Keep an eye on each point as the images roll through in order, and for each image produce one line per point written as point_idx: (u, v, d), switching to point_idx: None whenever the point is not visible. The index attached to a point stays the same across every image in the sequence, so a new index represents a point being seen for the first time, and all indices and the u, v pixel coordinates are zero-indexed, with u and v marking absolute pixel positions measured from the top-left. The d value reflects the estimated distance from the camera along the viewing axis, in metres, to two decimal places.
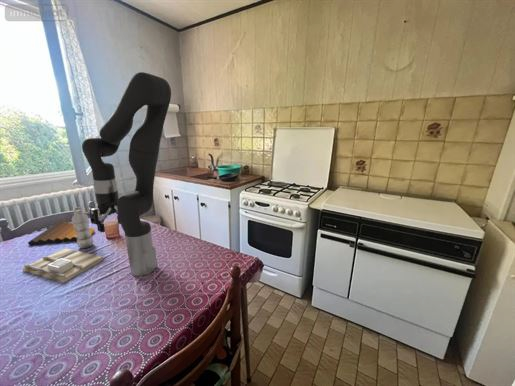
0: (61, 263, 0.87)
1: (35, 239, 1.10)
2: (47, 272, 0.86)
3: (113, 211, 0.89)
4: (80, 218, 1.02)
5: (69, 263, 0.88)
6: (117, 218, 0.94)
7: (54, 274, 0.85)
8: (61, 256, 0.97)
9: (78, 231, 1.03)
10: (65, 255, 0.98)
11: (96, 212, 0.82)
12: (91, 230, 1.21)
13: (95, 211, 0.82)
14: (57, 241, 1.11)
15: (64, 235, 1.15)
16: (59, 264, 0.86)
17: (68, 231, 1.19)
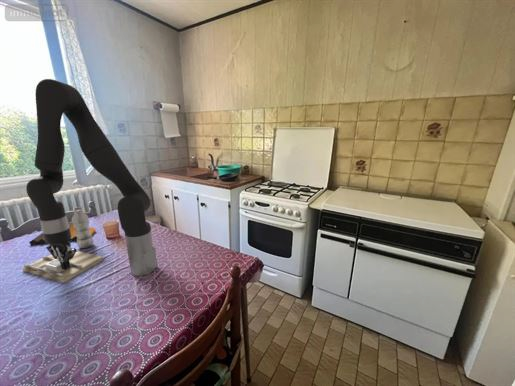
0: (59, 262, 0.87)
1: (36, 239, 1.10)
2: (47, 272, 0.86)
3: None
4: (80, 218, 1.02)
5: None
6: (62, 264, 0.86)
7: (54, 274, 0.85)
8: None
9: (78, 231, 1.03)
10: None
11: None
12: (92, 230, 1.21)
13: None
14: None
15: None
16: (57, 263, 0.87)
17: None
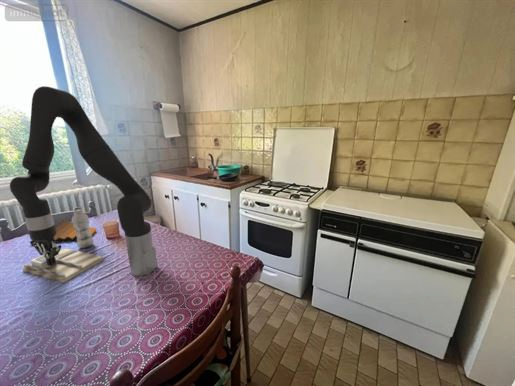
0: (44, 259, 0.90)
1: None
2: (47, 272, 0.86)
3: None
4: (80, 218, 1.02)
5: None
6: (47, 260, 0.88)
7: (54, 274, 0.85)
8: (61, 256, 0.97)
9: (78, 231, 1.03)
10: (65, 255, 0.98)
11: None
12: (93, 229, 1.22)
13: None
14: (59, 240, 1.12)
15: (66, 234, 1.16)
16: (42, 260, 0.89)
17: (70, 230, 1.19)
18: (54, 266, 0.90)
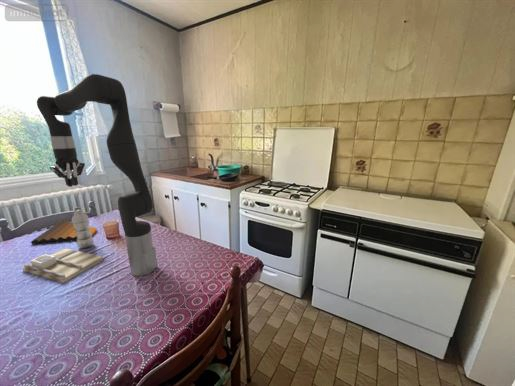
0: (44, 259, 0.90)
1: (38, 238, 1.11)
2: (47, 272, 0.86)
3: None
4: (80, 218, 1.02)
5: (52, 259, 0.91)
6: (71, 181, 0.98)
7: (54, 274, 0.85)
8: (61, 256, 0.97)
9: (78, 231, 1.03)
10: (65, 255, 0.98)
11: None
12: (93, 229, 1.22)
13: None
14: (60, 240, 1.12)
15: (67, 234, 1.16)
16: (42, 260, 0.89)
17: (70, 230, 1.20)
18: (54, 266, 0.90)
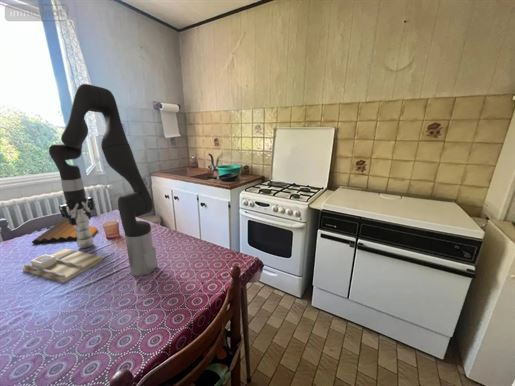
0: (44, 259, 0.90)
1: (39, 238, 1.11)
2: (47, 272, 0.86)
3: None
4: (80, 218, 1.02)
5: (52, 259, 0.91)
6: (74, 220, 1.01)
7: (54, 274, 0.85)
8: (61, 256, 0.97)
9: (78, 231, 1.03)
10: (65, 255, 0.98)
11: None
12: (94, 229, 1.23)
13: None
14: (61, 240, 1.12)
15: (68, 234, 1.16)
16: (42, 260, 0.89)
17: (71, 230, 1.20)
18: (54, 266, 0.90)
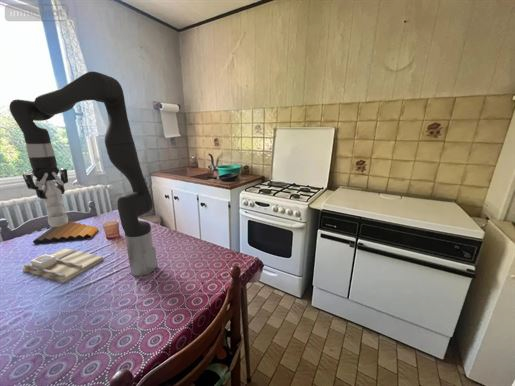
0: (44, 259, 0.90)
1: (40, 238, 1.11)
2: (47, 272, 0.86)
3: None
4: (50, 190, 0.88)
5: (52, 259, 0.91)
6: (43, 192, 0.87)
7: (54, 274, 0.85)
8: (61, 256, 0.97)
9: (48, 206, 0.89)
10: (65, 255, 0.98)
11: None
12: (95, 228, 1.23)
13: None
14: (62, 239, 1.13)
15: (69, 233, 1.17)
16: (42, 260, 0.89)
17: (72, 230, 1.20)
18: (54, 266, 0.90)
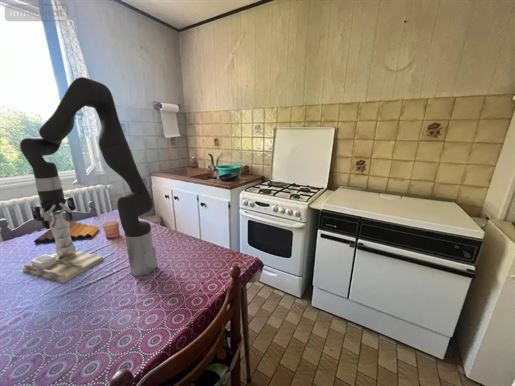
0: (44, 259, 0.90)
1: (41, 237, 1.11)
2: (47, 272, 0.86)
3: None
4: (59, 223, 0.92)
5: (52, 259, 0.91)
6: (48, 223, 0.90)
7: (54, 274, 0.85)
8: None
9: (57, 238, 0.93)
10: None
11: None
12: (96, 228, 1.23)
13: None
14: None
15: (70, 233, 1.17)
16: (42, 260, 0.89)
17: (73, 229, 1.21)
18: (54, 266, 0.90)
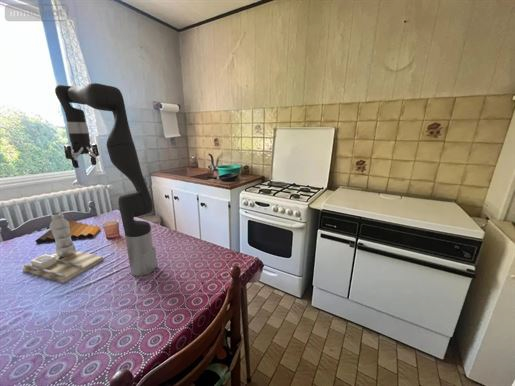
0: (44, 259, 0.90)
1: (42, 237, 1.12)
2: (47, 272, 0.86)
3: None
4: (59, 223, 0.92)
5: (52, 259, 0.91)
6: (77, 162, 1.04)
7: (54, 274, 0.85)
8: None
9: (57, 238, 0.93)
10: None
11: None
12: (97, 228, 1.24)
13: None
14: None
15: (71, 233, 1.17)
16: (42, 260, 0.89)
17: (74, 229, 1.21)
18: (54, 266, 0.90)
